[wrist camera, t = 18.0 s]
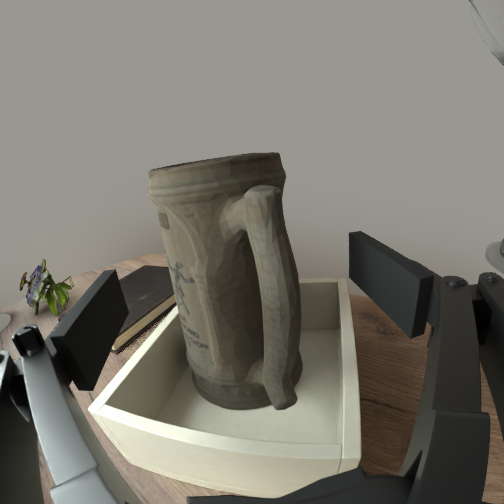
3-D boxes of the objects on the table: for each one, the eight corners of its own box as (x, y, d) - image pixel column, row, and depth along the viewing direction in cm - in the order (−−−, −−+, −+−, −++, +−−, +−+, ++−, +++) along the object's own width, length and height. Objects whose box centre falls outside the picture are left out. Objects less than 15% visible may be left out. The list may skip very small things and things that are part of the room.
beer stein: (176, 359, 29) (129, 168, 21) (258, 324, 34) (241, 149, 26) (252, 468, 17) (197, 175, 9) (354, 399, 22) (384, 153, 14)
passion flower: (48, 336, 46) (17, 292, 45) (81, 306, 54) (51, 265, 53) (43, 325, 38) (9, 272, 37) (85, 290, 46) (50, 242, 45)
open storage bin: (344, 333, 32) (346, 277, 29) (343, 501, 13) (361, 457, 10) (210, 331, 36) (198, 280, 34) (129, 463, 17) (87, 408, 15)
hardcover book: (206, 281, 52) (203, 269, 51) (116, 354, 32) (110, 340, 32) (145, 274, 58) (142, 264, 58) (61, 328, 39) (56, 316, 38)
